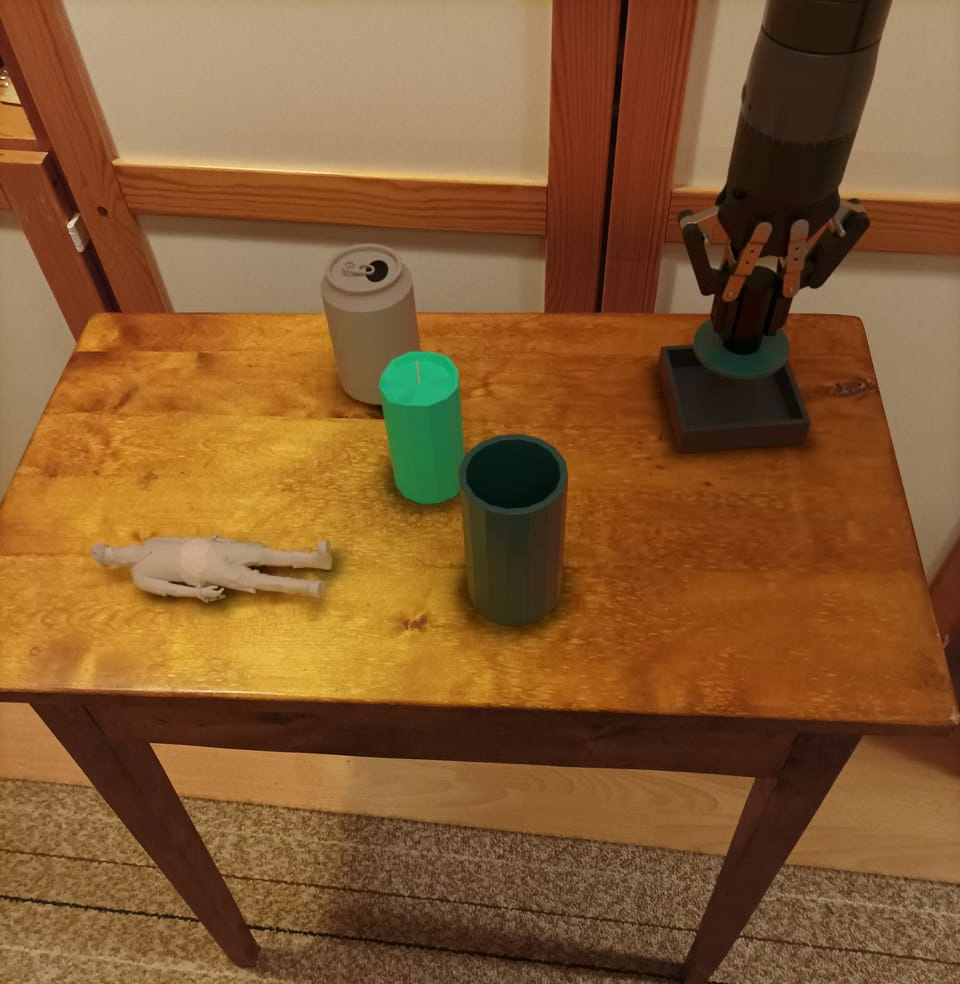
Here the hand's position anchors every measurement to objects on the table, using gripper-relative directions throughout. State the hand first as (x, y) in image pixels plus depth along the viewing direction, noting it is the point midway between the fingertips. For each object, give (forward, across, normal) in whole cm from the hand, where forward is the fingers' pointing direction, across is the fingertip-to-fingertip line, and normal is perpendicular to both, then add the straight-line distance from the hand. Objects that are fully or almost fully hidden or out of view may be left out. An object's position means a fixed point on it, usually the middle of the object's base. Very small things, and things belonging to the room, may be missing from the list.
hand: (745, 330), depth 72 cm
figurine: (+8, -43, -15) cm, 46 cm away
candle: (+8, -26, -6) cm, 28 cm away
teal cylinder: (+8, -20, -18) cm, 28 cm away
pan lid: (+2, 0, 0) cm, 2 cm away
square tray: (+8, 0, 0) cm, 8 cm away
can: (+8, -30, +6) cm, 31 cm away
